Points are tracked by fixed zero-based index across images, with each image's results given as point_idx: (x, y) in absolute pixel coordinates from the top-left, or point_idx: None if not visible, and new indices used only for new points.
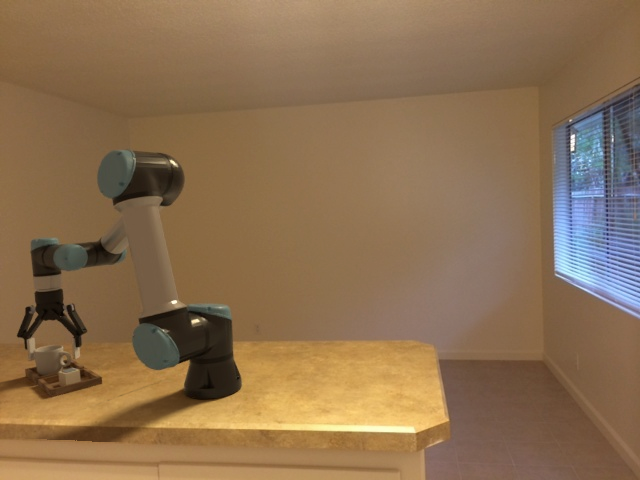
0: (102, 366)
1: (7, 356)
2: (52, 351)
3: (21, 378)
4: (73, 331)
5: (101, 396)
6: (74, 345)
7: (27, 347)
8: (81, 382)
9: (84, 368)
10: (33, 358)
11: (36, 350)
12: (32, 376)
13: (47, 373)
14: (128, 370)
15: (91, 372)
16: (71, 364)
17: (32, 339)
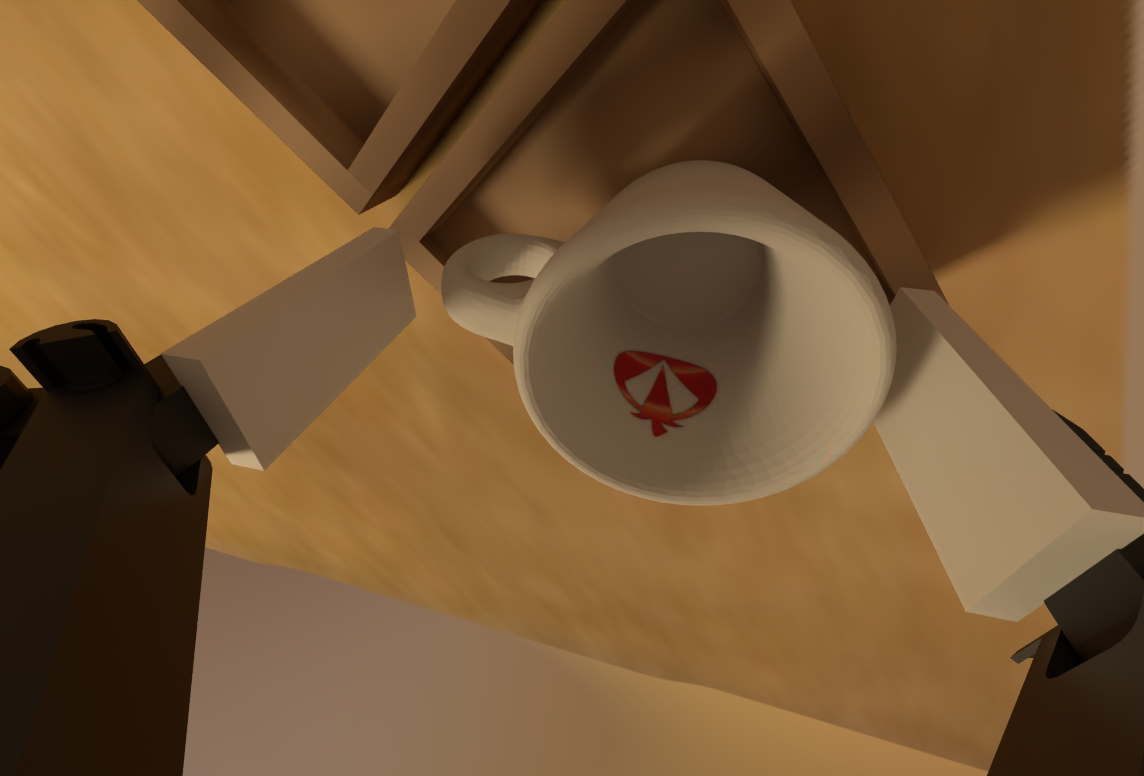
0: (417, 373)
1: None
2: (565, 246)
3: (953, 243)
4: (46, 439)
5: None
6: (265, 294)
7: (1039, 402)
8: None
9: (353, 191)
10: None
11: (856, 377)
12: (809, 45)
13: (674, 163)
14: (197, 256)
15: (191, 34)
16: None
17: (994, 556)
